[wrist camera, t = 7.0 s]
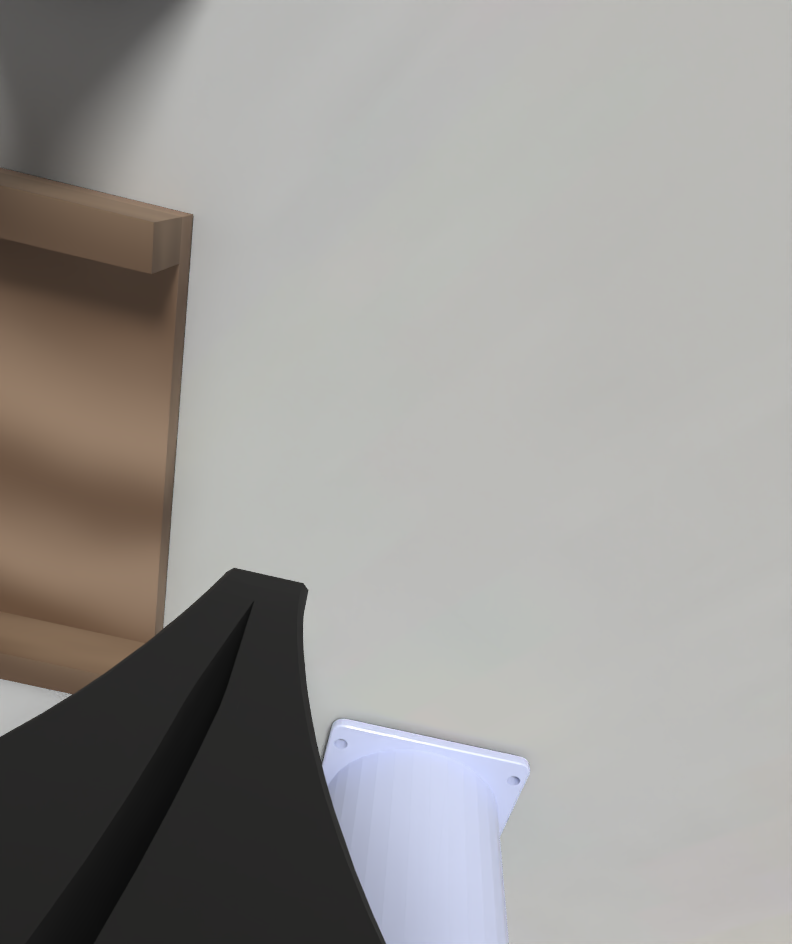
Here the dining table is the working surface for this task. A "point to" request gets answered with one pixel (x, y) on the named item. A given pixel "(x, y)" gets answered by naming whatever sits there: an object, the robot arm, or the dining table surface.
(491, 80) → the dining table surface
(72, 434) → the bay
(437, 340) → the dining table surface
